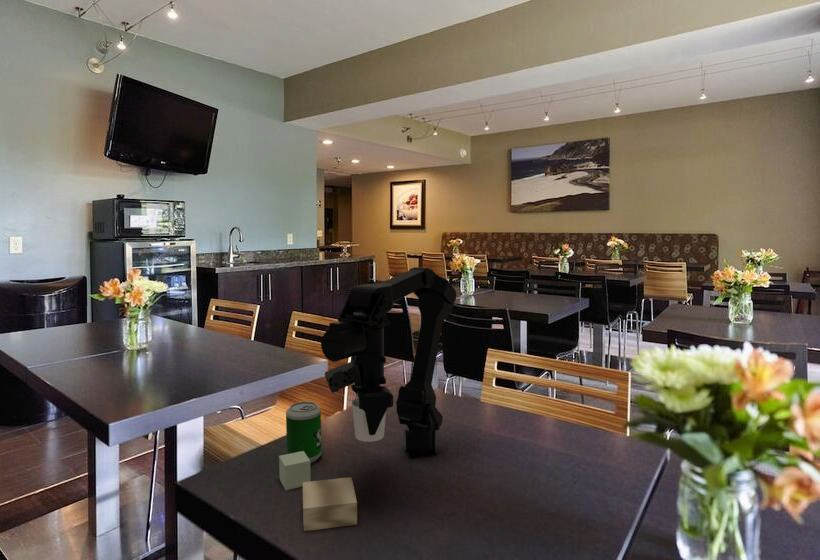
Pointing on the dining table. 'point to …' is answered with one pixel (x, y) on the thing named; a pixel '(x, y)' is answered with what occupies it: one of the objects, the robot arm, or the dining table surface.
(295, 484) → the sage cube
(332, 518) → the maple block
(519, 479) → the dining table surface
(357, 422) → the shot glass
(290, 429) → the soda can
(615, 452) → the dining table surface
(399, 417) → the robot arm
